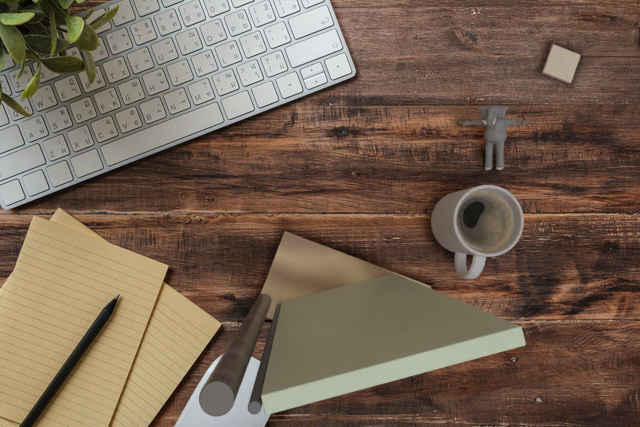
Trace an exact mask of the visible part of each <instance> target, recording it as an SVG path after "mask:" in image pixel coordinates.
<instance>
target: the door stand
mask: <svg viewBox="0 0 640 427" xmlns="http://www.w3.org/2000/svg"><path fill="white" fill-rule="evenodd" d="M392 273H394V274H397V275H399V276H402V277H404V278H407V279H409V280H411V281H414V282H416V283H419V284H421V285H423V286H426V287H428V288H431V289H432V286H431V285H430V284H427V283H424V282H422V281H419V280H416V279H415V278H411V277H409V276H406V275H404V274H400V273H397V272H395V271H392V270H389V269H387V268H385V267H383V266H379V265H377V264H374V263H371V262H370V261H366V260H364V259H361V258H358V257H356V256H352V255H350V254H347V253H346V252H343V251H340V250H336V249H334V248H332V247H329V246H326V245H324V244H321V243H319V242H316V241H313V240H311V239H308V238H305V237H302V236H300V235H297V234H295V233H292V232H289V231H287V230H284V232H283V234H282V237H281V239H280V242H279V243H278V247H277V250H276V253H275V255H274V258H273V260H272V263H271V266H270V269H269V271H268V273H267V276H266V279H265V282H264V284H263V287H262V289H261V292H260V294H259V295H258V296H257V298H256V299H255V301H254V303H252V304H253V305H252V306H251V308H250V309H249V311H248V313H247V314H246V316H245V317H244V319H243V321H242V322H241V324H240V326H239V327H238V329H237V330H236V332H235V334H234V335H233V338H232V339H231V340H230V342H229V344H228V345H227V347H226V348H225V350H224V352H223V354H222V355H221V356H220V359H219V360H218V362H217V364H216V365H215V367H214V368H213V370H212V371H211V373H210V375H209V377H208V378H207V380H206V381H205V383H204V385H203V386H202V388H201V389H200V391H199V395H198V402H199V407H200V409H201V410H202V411H203V412H204V413H205V414H206V415H208V416H211V417H214V418H215V417H217V418H218V417H223V416H225V415H227V414H229V412H230V411H231V410H232V408H233V407H234V405H235V402H236V399H237V397H238V393H239V391H240V388H241V385H242V383H243V380H244V377H245V375H246V372H247V369H248V367H249V364H250V361H251V359H252V356H253V353H254V351H255V348H256V345H257V343H258V340H259V337H260V334H261V331H262V329H263V326H264V324H265V321H266V318H267V319H270V320H272V319H273V316H274V312H275V309H276V305H277V304H281V303H282V301H286V300H290V299H294V298H298V297H302V296H306V295H310V294H314V293H318V292H321V291H325V290H329V289H333V288H337V287H341V286H345V285H349V284H353V283H357V282H360V281H364V280H368V279H372V278H376V277H380V276H384V275H388V274H392Z"/></svg>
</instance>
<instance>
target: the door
mask: <svg viewBox="0 0 640 427" xmlns="http://www.w3.org/2000/svg"><path fill="white" fill-rule="evenodd" d="M526 345H527V343H526V338H525V335H524V331H523V327H522V326H521V325H519V324H517V323H514V322H512V321H510V320H507V319H505V318H503V317H500V316H498V315H496V314H493V313H491V312H488V311H486V310H483V309H481V308H479V307H476V306H474V305H471V304H469V303H467V302H464V301H462V300H459V299H457V298H455V297H452V296H451V295H450V296H449V295H447V294H445V293H444V292H443V293H442V292H440V291H437V290H435V289H433V288H432V287H431V288H428V287H426V286H423V285H421V284H419V283H416V282H414V281H411V280H409V279H407V278H404V277H402V276H399V275H397V274H394V273H392V274H388V275H384V276H380V277H376V278H372V279H368V280H364V281H360V282H357V283H353V284H349V285H345V286H341V287H337V288H333V289H329V290H325V291H321V292H318V293H314V294H310V295H306V296H302V297H298V298H294V299H290V300H286V301H282V303H281V304H277V305H276V309H275V312H274V316H273V319H271V323H270V326H269V330H268V334H267V337H266V340H265V343H264V347H263V351H262V354H261V358H260V362H259V365H258V368H257V372H256V376H255V379H254V382H253V386H252V389H251V392H250V397H249V401H248V403H247V411H248V413H249V414H251V415H258V414H259V413H261V410H262V409H263V411H264V414H265V416H268V415H273V414H275V413H280V412H283V411H286V410H290V409H294V408H299V407H302V406H306V405H309V404H313V403H317V402H321V401H324V400H328V399H331V398H336V397H339V396H342V395H346V394H350V393H353V392H357V391H361V390H365V389H368V388H372V387H376V386H379V385H384V384H387V383H390V382H394V381H399V380H402V379H406V378H410V377H413V376H416V375H421V374H424V373H429V372H431V371H435V370H440V369H443V368H447V367H451V366H454V365H457V364H461V363H465V362H469V361H473V360H477V359H480V358H483V357H488V356H492V355H495V354H498V353H502V352H506V351H510V350H514V349H518V348H520V347H521V348H522V347H525V346H526ZM262 407H263V408H262Z"/></svg>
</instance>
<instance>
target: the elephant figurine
mask: <svg viewBox="0 0 640 427" xmlns="http://www.w3.org/2000/svg"><path fill="white" fill-rule="evenodd" d="M509 108H510V107H509V106H507V105H498V104H492V105H489V106H483V105H481V106H479V107H478V108H477V110H478V111H479V113H480V117H481V118H477V119H474V120H469V119H467V120H463V121H459V122H458V123H459V125H460V124H462V126H477V127H478V126H479V127H480V126H481V127H484V128H485V130H484V132H483V139H484V141H485V146H484V148H485V150H484V151H485V160H484V170H485V171H490V170H493V168H494V167H493V166H494V165H493V159H494V146H495V151H496V152H495V154H496V155H495V156H496V157H495V158H496V159H495V160H496V161H495V162H496V164H495V167H496V170H497V171H501V170H503V169H505V158H504V157H505V156H504V155H505V152H504V151H505V142H506V140H507V138H508V132H507V128H506V127H512V126H525V125H528V124H533V123H534V121H533V120H528V119H523V120H516V119H512V118H507V117H506V116H505V115H506V112H507V110H509Z"/></svg>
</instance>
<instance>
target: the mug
mask: <svg viewBox="0 0 640 427" xmlns="http://www.w3.org/2000/svg"><path fill="white" fill-rule="evenodd" d="M524 222H525V220H524V212H523V209H522V206H521V204H520V203H519V201H518V199H517V198H516V197H515V196H514V195H513V194H512V193H511V192H510V191H508V190H507V189H505V188H503V187H501V186H499V185H494V184H481V185H478V186H473V187H469V188H465V189H461V190H458V191H453V192H451V193H447V194H446V195H445V196H443V197H442V198H441V199H440V200H438V202H436V204H435V205H434V207H433V210H432V213H431V217H430V225H431V226H430V227H431V231H432V234H433V236H434V238H435V239H436V241H437V243H439V245H440V246H441V247H442V248H444V249H445V250H448V251H449V252H451V253H454V269H455V271H456V273H457V275H458V276H459V278H461V279H466V280H475V279H477V278H478V277H479V276H480V275H481V273H482V272H483V270H484V268H485V264H486V260H487V258H493V257H497V256H498V257H499V256H501V255H504V254H506V253H507V252H509V251H510V250H511V249H512V248H514V247H515V245H517V243H518V242H519V240H520V238H521V236H522V233H523V230H524V224H525V223H524ZM467 255H470V256H472V260H471V264H470V266H469V269H468V268H467Z"/></svg>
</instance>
